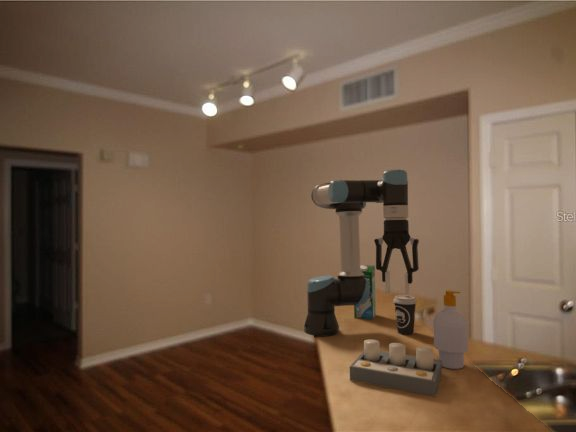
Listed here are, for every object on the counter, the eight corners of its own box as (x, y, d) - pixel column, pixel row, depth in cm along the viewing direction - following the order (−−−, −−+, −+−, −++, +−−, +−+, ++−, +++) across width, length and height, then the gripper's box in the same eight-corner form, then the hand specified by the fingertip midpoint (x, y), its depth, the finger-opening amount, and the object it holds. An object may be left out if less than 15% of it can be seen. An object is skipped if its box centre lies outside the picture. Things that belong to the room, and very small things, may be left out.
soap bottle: (466, 374, 114) (464, 295, 114) (431, 367, 119) (429, 292, 120) (470, 363, 123) (468, 289, 123) (437, 357, 128) (435, 287, 128)
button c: (415, 370, 110) (414, 350, 110) (417, 365, 114) (417, 345, 114) (432, 373, 107) (432, 353, 107) (434, 367, 112) (434, 347, 112)
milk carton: (354, 317, 182) (353, 266, 182) (357, 313, 190) (357, 264, 191) (372, 319, 179) (371, 267, 179) (375, 314, 187) (374, 265, 187)
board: (349, 379, 111) (349, 364, 111) (366, 360, 126) (365, 347, 126) (435, 396, 100) (435, 379, 100) (442, 373, 115) (441, 358, 115)
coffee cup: (419, 336, 151) (418, 299, 151) (394, 335, 153) (394, 299, 153) (415, 329, 161) (415, 295, 161) (392, 328, 163) (392, 294, 163)
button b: (387, 366, 113) (387, 346, 113) (391, 361, 118) (391, 342, 118) (404, 369, 111) (403, 349, 111) (407, 363, 115) (406, 344, 115)
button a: (362, 362, 117) (362, 343, 117) (366, 357, 121) (366, 338, 121) (377, 364, 115) (377, 345, 115) (381, 359, 119) (380, 340, 119)
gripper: (363, 219, 118) (365, 293, 117) (424, 218, 109) (426, 297, 109) (370, 219, 124) (371, 289, 124) (428, 218, 116) (430, 293, 115)
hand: (397, 293), depth 116 cm, fingers open, 5 cm apart
